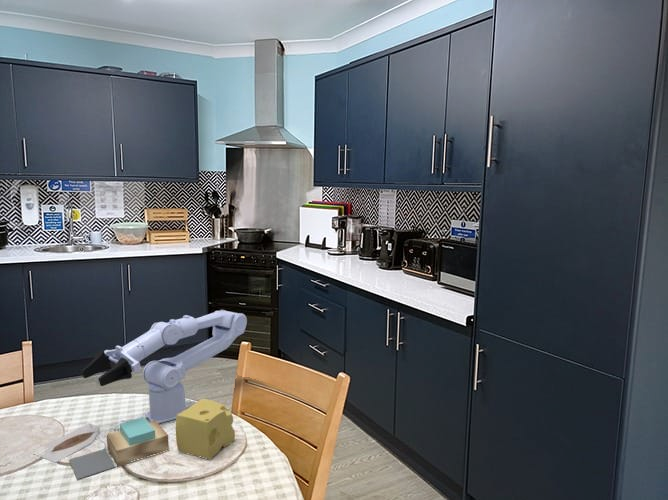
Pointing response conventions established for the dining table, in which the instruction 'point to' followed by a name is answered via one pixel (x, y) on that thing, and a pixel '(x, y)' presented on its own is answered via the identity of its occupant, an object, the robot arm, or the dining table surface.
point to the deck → (136, 446)
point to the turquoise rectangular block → (137, 431)
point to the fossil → (70, 443)
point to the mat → (91, 464)
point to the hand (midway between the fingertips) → (91, 378)
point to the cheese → (204, 429)
